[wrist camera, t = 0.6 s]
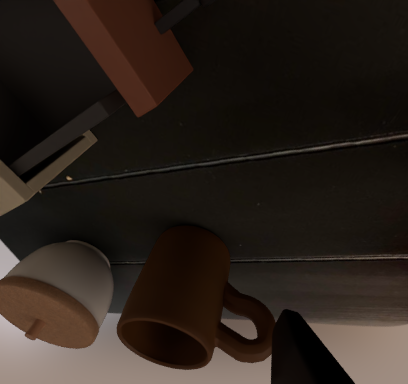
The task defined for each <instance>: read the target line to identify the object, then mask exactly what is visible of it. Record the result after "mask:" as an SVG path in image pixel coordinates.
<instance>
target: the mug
mask: <svg viewBox="0 0 408 384" xmlns="http://www.w3.org/2000/svg"><path fill="white" fill-rule="evenodd" d="M229 270H230V254H229V251H228V249H227V247H226V245H225V244H224V243H223V241H222V240H221V239H220V238H219V237H217V236H216V235H215V234H213V233H211V232H210V231H208V230H205V229H203V228H200V227H196V226H189V225H181V226H176V227H172V228H170V229H168V230H166V231H165V232H163V233H162V234H161V236H160V237H159V238H158V240H157V241H156V243H155V245H154V247H153V249H152V251H151V253H150V255H149V257H148V259H147V261H146V263H145V265H144V267H143V269H142V271H141V273H140V275H139V277H138V279H137V281H136V283H135V285H134V287H133V289H132V291H131V293H130V295H129V297H128V300H127V302H126V304H125V307H124V309H123V312H122V315H121V317H120V320H119V322H118V324H117V334H118V337H119V339H120V340H121V342H122V343H123V344H124V345H125V346H126V347H127V348H128V349H130V350H131V351H133V352H134V353H135V354H137V355H139V356H140V357H142V358H144V359H146V360H149V361H151V362H153V363H156V364H159V365H162V366H166V367H170V368H175V369H184V370H189V369H190V370H191V369H198V368H202V367H204V366H206V365H207V364H208V363H209V362H210V360H211V358H212V355H213V351H214V348H215V347H218V348H220V349H221V350H223V351H224V352H225V353H227V354H228V355H230V356H231V357H233V358H234V359H235V360H238V361H240V362H248V363H254V362H260V361H264V360H265V359H266V358H267V357H269V356H270V355H271V354H272V332H273V328H274V326H275V324H276V322H275V319H274V317H273V315H272V314H271V312H270V310H269V309H268V308H267V307H266V306H265V305H264V304H263V303H262V302H260V301H259V300H257V299H255V298H253V297H251V296H248V295H245V294H242V293H240V292H238V290H236V289H235V288H234V287H232V286H231V285H230V284H229V283H228V276H229ZM223 306H224V307H225V308H226V309H227V310H229V311H230V312H232V313H234V314H236V315H240V316H244V317H247V318H249V319H250V320H251V321H252V322H253V323H254V325H255V327H256V329H257V336H258V337H257V338H256V339H253V340H249V339H246V338H244V337H243V336H241V335H240V334H238V333H237V332H235V331H233V330H232V329H230V328H228V327H227V326H226V325H224V324H223V323H221V316H222V310H223Z"/></svg>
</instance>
